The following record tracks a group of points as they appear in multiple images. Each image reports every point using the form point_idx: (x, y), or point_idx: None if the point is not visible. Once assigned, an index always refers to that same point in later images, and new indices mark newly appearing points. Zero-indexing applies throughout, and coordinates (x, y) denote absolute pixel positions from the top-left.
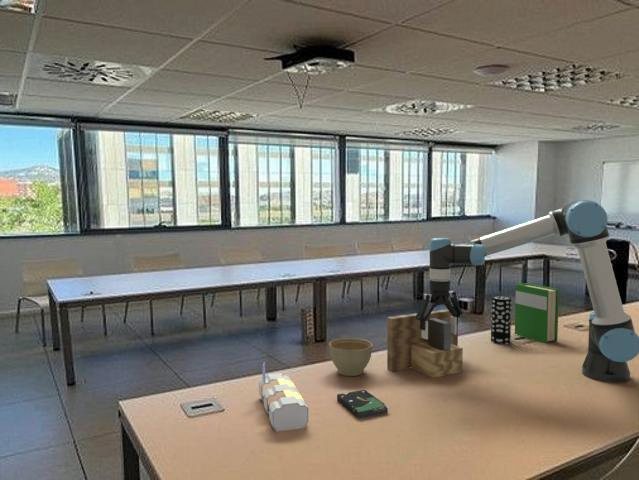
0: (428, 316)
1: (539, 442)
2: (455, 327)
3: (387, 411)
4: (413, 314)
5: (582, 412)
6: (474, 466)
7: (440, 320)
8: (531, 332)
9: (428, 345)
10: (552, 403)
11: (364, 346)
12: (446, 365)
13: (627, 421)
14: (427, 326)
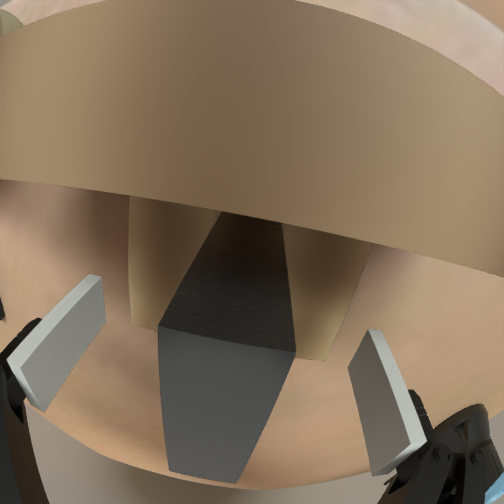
0: (30, 447)
1: (146, 458)
2: (361, 407)
3: (3, 317)
4: (8, 79)
5: (273, 471)
6: (59, 424)
7: (234, 438)
8: None
9: (211, 221)
10: (273, 455)
11: None
12: None
13: (287, 486)
14: (59, 381)
